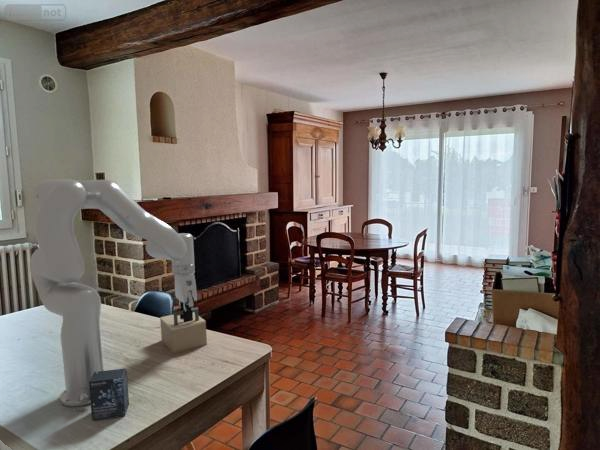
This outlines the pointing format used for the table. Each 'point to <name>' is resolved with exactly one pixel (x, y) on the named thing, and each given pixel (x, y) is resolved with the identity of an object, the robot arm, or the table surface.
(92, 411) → the box
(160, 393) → the table surface
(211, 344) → the table surface
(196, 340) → the tan open container
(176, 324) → the door
